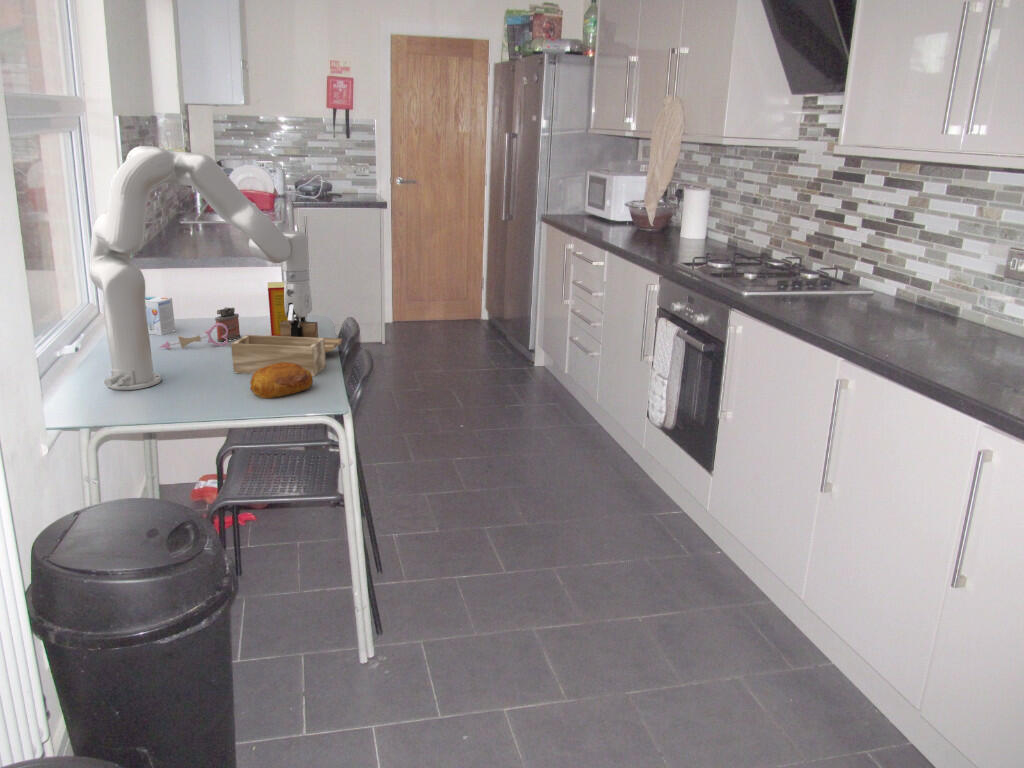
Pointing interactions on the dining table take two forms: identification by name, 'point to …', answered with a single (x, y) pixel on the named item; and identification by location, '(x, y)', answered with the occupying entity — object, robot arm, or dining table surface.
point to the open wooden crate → (278, 352)
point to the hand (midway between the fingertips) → (299, 338)
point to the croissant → (280, 380)
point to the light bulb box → (159, 315)
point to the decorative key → (198, 338)
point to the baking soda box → (276, 306)
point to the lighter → (228, 324)
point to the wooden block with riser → (310, 333)
